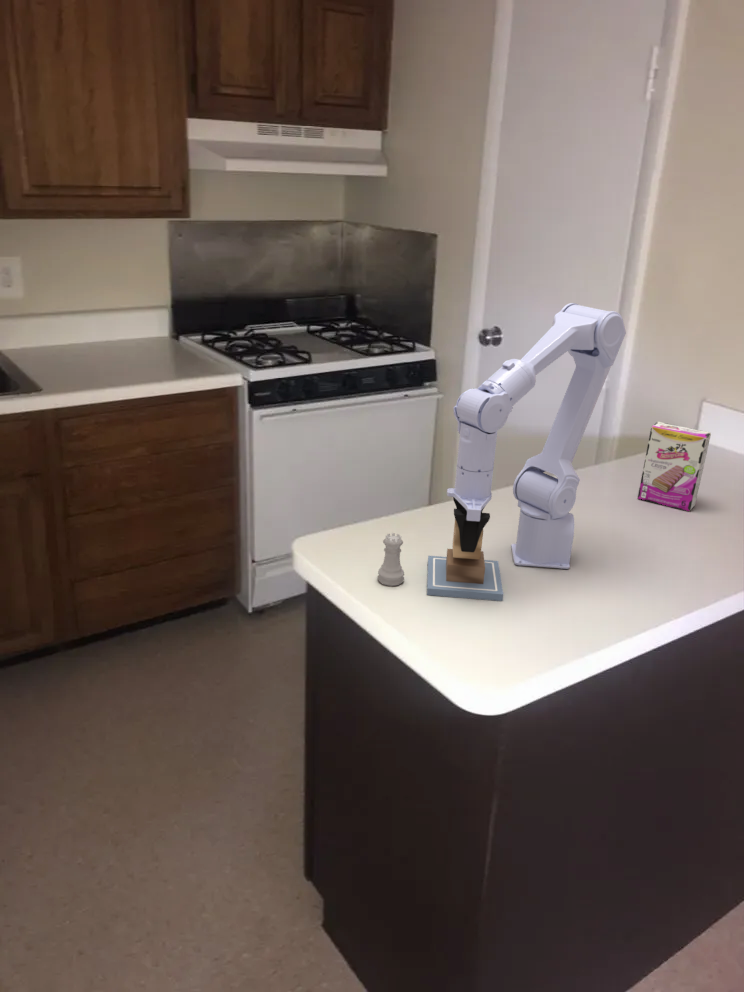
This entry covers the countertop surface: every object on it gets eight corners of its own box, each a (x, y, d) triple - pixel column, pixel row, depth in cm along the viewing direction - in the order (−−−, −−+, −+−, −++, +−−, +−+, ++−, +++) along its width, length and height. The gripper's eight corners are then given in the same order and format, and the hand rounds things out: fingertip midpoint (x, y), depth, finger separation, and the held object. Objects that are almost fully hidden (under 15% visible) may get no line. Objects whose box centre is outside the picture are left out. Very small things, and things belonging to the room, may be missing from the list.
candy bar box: (636, 500, 175) (649, 425, 169) (642, 493, 179) (656, 420, 173) (690, 513, 170) (706, 437, 164) (696, 505, 174) (711, 431, 168)
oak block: (479, 547, 137) (481, 520, 135) (480, 559, 133) (483, 531, 131) (452, 545, 137) (455, 518, 135) (452, 557, 133) (455, 529, 131)
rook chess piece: (401, 588, 133) (405, 543, 130) (374, 585, 134) (377, 540, 131) (406, 576, 137) (409, 532, 135) (380, 572, 138) (382, 529, 135)
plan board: (497, 567, 142) (500, 545, 141) (502, 601, 131) (505, 577, 130) (427, 561, 143) (429, 539, 141) (426, 595, 132) (428, 571, 130)
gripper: (449, 449, 136) (442, 524, 142) (450, 480, 123) (442, 562, 128) (491, 452, 136) (483, 527, 141) (497, 483, 123) (488, 565, 128)
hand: (467, 544), depth 135 cm, fingers closed on oak block, 4 cm apart
